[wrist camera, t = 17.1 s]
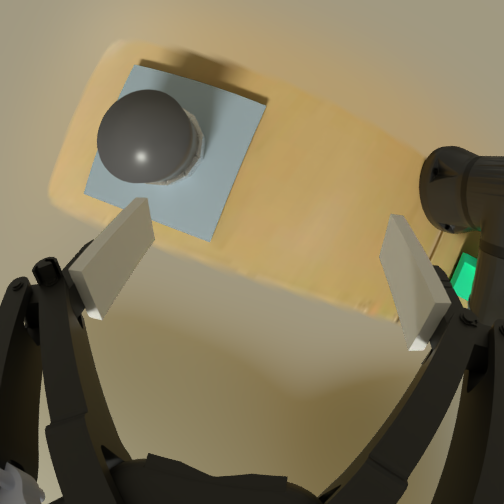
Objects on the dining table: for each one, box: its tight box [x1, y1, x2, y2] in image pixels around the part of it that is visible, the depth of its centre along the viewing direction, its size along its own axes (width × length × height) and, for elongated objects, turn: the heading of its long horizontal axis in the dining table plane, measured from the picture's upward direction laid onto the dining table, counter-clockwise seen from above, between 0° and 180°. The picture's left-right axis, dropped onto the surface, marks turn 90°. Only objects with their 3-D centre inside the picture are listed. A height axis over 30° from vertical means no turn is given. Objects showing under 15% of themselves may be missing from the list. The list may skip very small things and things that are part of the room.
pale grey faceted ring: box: [145, 108, 206, 185], centre depth 34 cm, size 10×10×4 cm
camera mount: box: [450, 252, 477, 301], centre depth 42 cm, size 12×8×10 cm, turn 68°
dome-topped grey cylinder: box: [97, 89, 198, 183], centre depth 30 cm, size 9×9×12 cm
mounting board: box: [84, 65, 266, 242], centre depth 37 cm, size 20×20×2 cm
